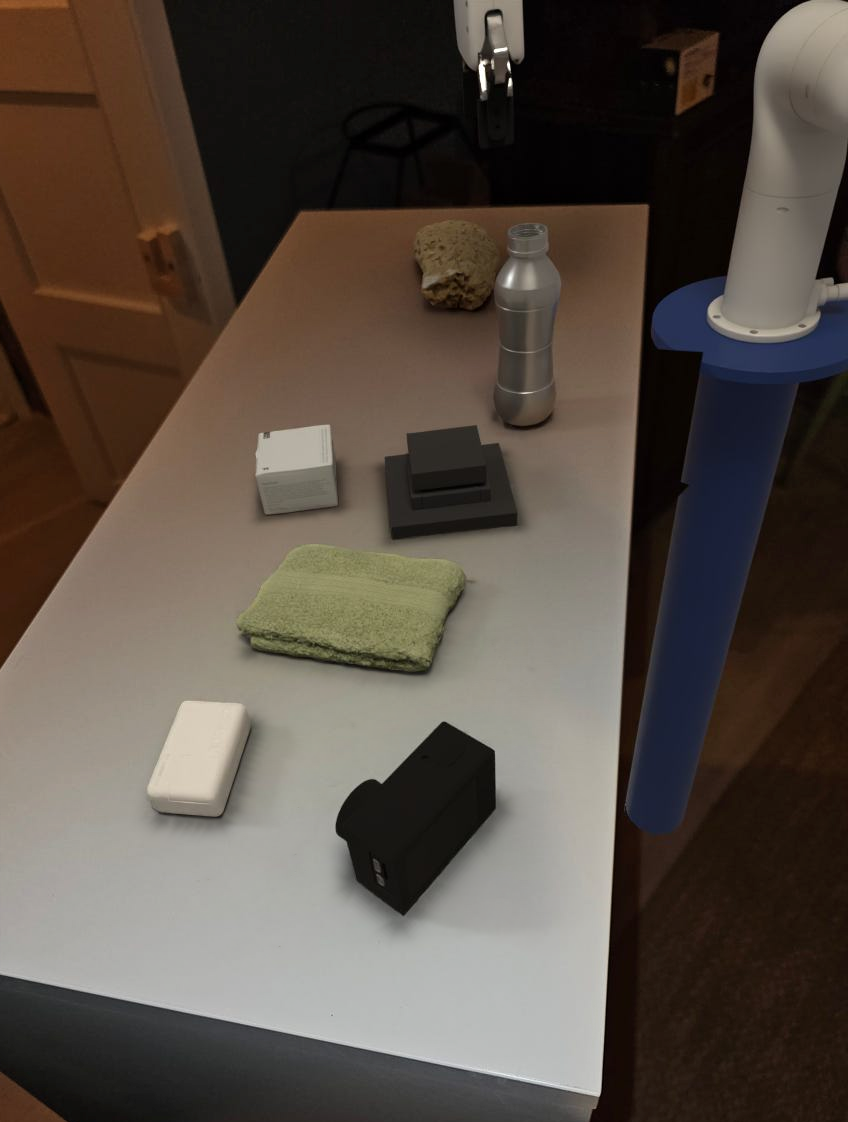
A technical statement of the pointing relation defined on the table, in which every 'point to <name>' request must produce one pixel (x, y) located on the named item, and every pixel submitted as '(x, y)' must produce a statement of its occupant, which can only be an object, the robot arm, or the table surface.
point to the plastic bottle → (526, 327)
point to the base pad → (449, 500)
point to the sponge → (456, 263)
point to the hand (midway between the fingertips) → (487, 130)
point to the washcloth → (354, 607)
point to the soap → (200, 758)
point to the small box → (296, 469)
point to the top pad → (446, 458)
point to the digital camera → (418, 815)
